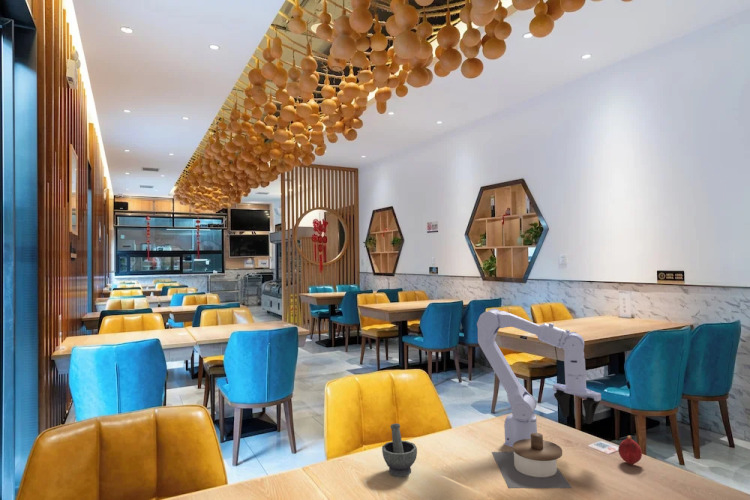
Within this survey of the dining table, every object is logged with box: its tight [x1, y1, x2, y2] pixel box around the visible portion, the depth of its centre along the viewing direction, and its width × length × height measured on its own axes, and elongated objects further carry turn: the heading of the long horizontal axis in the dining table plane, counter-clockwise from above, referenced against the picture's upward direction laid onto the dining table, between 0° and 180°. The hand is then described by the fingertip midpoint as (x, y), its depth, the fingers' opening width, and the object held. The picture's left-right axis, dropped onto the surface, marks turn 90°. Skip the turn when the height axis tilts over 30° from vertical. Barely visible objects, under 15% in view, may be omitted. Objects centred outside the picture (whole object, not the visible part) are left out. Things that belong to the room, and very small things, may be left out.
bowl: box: [513, 451, 558, 478], centre depth 126 cm, size 11×11×5 cm
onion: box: [618, 435, 643, 466], centre depth 127 cm, size 6×6×8 cm
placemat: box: [491, 451, 573, 489], centre depth 126 cm, size 16×22×1 cm
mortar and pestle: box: [381, 423, 418, 478], centre depth 127 cm, size 11×9×12 cm
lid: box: [512, 432, 563, 461], centre depth 126 cm, size 13×13×4 cm
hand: (577, 419), depth 134 cm, fingers open, 7 cm apart
